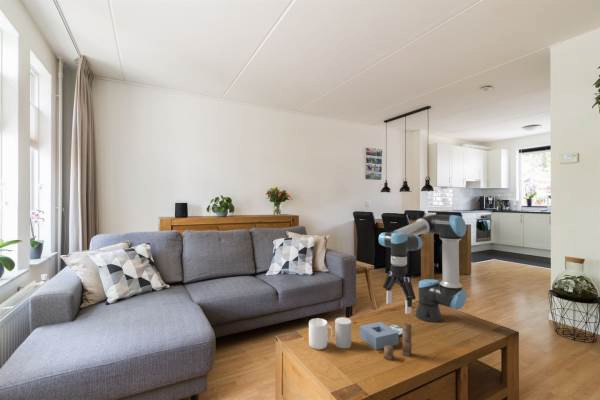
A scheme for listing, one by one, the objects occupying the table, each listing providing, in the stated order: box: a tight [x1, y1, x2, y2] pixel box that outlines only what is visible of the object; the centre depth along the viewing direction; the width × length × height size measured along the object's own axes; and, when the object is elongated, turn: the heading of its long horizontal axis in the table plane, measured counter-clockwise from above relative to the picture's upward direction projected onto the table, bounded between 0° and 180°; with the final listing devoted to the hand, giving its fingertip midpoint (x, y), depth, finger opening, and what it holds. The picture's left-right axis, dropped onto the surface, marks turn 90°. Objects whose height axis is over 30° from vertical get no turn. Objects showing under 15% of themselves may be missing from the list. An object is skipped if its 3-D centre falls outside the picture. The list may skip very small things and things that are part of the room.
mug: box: [308, 317, 334, 351], centre depth 145 cm, size 10×12×12 cm
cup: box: [334, 316, 352, 349], centre depth 146 cm, size 8×8×12 cm
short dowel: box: [383, 345, 394, 361], centre depth 133 cm, size 4×4×5 cm
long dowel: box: [401, 322, 412, 358], centre depth 136 cm, size 4×4×14 cm
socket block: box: [359, 321, 400, 351], centre depth 149 cm, size 14×14×6 cm
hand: (398, 308), depth 139 cm, fingers open, 13 cm apart
